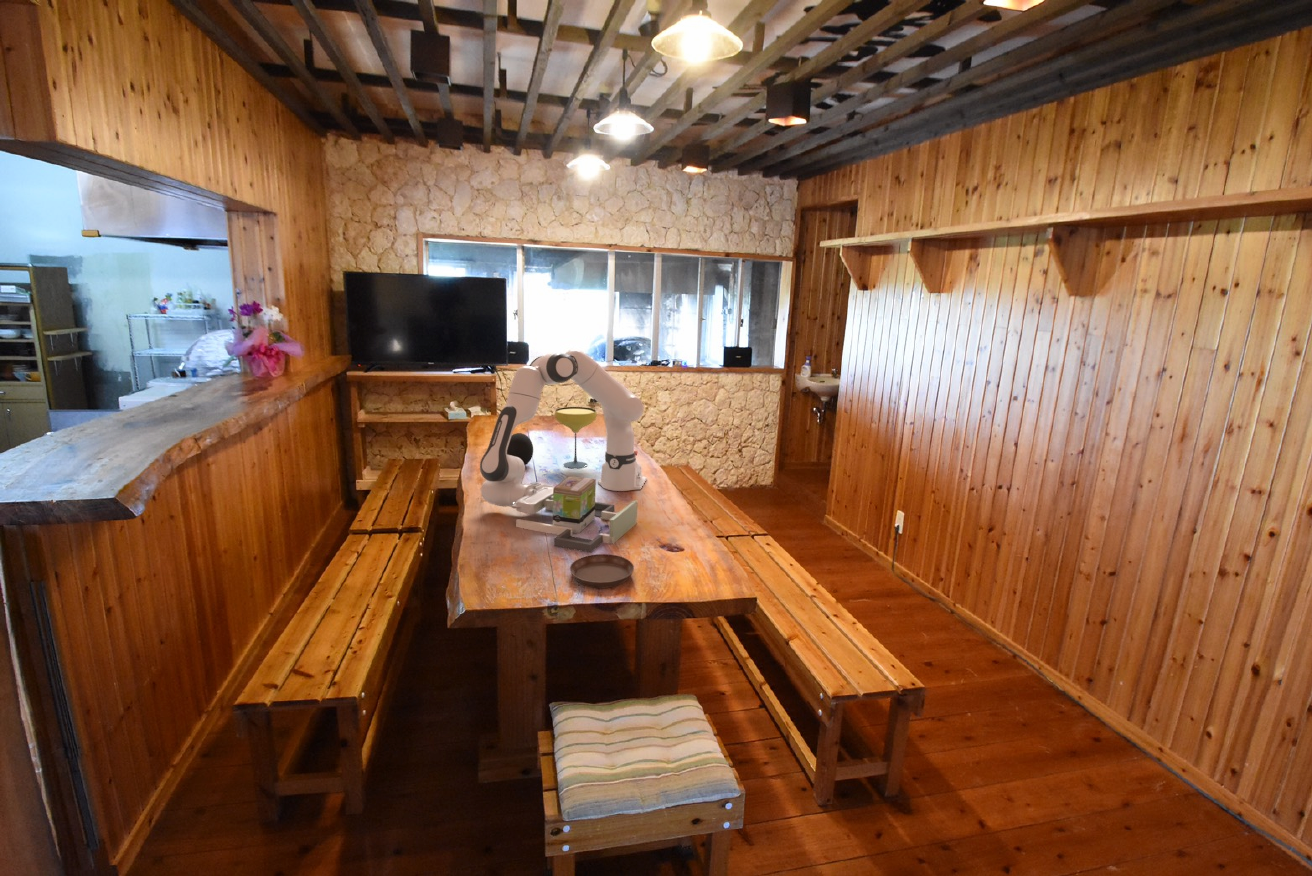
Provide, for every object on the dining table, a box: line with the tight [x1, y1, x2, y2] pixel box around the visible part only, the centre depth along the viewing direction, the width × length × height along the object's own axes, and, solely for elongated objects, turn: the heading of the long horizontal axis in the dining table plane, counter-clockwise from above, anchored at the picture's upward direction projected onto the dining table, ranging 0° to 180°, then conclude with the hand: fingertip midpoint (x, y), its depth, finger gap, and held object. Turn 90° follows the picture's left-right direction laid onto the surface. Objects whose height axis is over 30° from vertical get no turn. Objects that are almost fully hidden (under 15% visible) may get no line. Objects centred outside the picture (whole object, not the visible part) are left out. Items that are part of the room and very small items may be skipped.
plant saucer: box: [569, 553, 635, 589], centre depth 176 cm, size 18×18×3 cm
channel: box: [515, 500, 638, 545], centre depth 213 cm, size 20×35×8 cm, turn 70°
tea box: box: [552, 475, 597, 534], centre depth 212 cm, size 15×10×15 cm, turn 167°
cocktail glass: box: [554, 406, 597, 469], centre depth 283 cm, size 18×18×25 cm
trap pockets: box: [553, 501, 616, 553], centre depth 212 cm, size 36×20×2 cm, turn 160°
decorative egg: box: [507, 432, 534, 466], centre depth 279 cm, size 12×12×15 cm
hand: (560, 502), depth 214 cm, fingers closed
